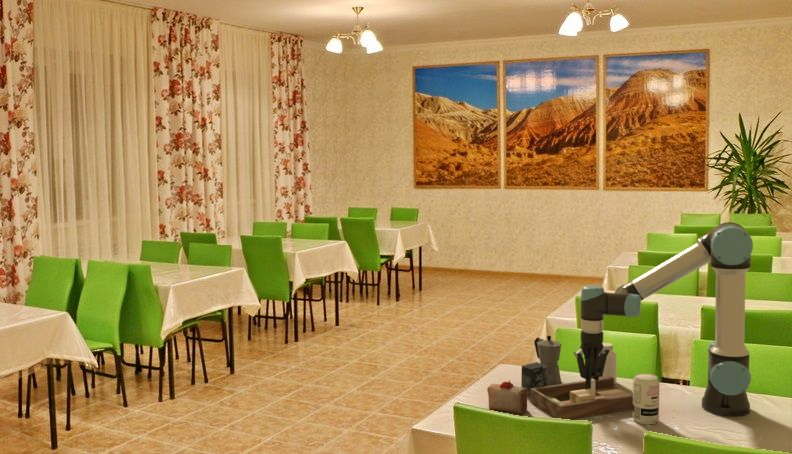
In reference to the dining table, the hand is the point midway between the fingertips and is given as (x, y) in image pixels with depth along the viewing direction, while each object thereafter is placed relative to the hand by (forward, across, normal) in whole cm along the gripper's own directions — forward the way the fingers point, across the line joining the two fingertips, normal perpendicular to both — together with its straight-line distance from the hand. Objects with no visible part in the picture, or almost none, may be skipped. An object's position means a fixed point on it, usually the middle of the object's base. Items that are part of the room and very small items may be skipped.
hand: (591, 397), depth 255 cm
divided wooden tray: (+4, -1, -3) cm, 5 cm away
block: (+2, +4, 0) cm, 4 cm away
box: (+4, +10, -21) cm, 24 cm away
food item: (+4, +27, -10) cm, 29 cm away
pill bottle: (+4, -21, -21) cm, 30 cm away
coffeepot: (+4, -2, -32) cm, 33 cm away
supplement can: (+4, -10, +17) cm, 20 cm away
